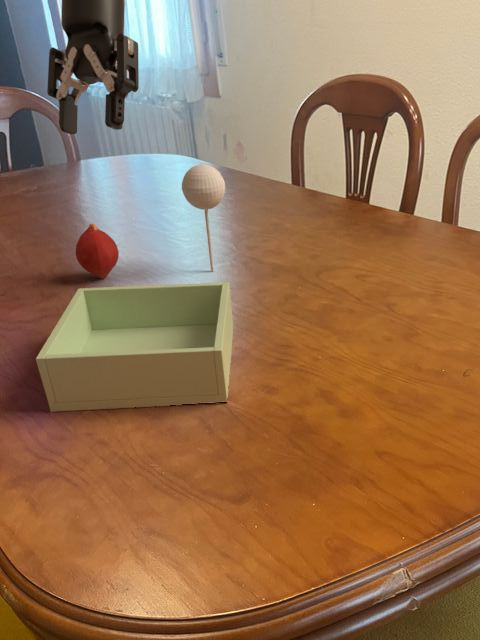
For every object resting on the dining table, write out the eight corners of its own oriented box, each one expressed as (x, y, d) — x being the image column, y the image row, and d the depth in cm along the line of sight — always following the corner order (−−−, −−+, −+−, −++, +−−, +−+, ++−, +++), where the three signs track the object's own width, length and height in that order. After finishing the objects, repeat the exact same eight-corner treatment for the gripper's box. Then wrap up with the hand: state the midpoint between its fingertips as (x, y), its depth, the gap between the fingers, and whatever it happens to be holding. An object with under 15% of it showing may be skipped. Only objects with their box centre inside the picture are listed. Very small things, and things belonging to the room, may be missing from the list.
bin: (50, 412, 66) (35, 358, 62) (88, 334, 80) (78, 288, 77) (227, 403, 67) (221, 350, 63) (233, 328, 81) (229, 282, 78)
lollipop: (208, 261, 101) (196, 158, 93) (240, 267, 99) (231, 162, 91) (184, 275, 96) (169, 167, 88) (217, 281, 94) (206, 171, 86)
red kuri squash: (73, 280, 95) (60, 225, 91) (104, 268, 99) (93, 214, 95) (99, 288, 93) (87, 231, 88) (130, 275, 97) (120, 221, 92)
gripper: (31, -9, 83) (29, 126, 86) (110, -31, 76) (106, 117, 79) (79, 17, 90) (77, 142, 92) (156, -1, 83) (151, 135, 85)
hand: (90, 130), depth 85 cm, fingers open, 8 cm apart
